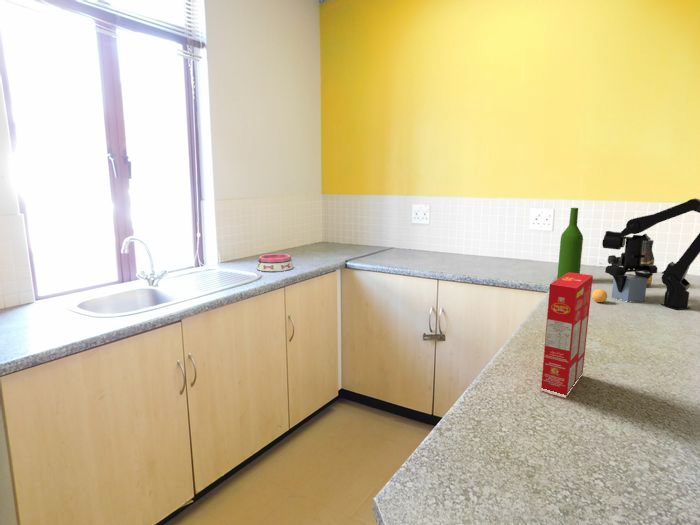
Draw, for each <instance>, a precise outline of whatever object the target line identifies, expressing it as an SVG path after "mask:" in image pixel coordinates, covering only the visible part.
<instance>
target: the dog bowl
mask: <svg viewBox="0 0 700 525" xmlns="http://www.w3.org/2000/svg"><path fill="white" fill-rule="evenodd" d="M256 270H257V272H260V271H261V272H262V273H283V272H284V271H285V272H288V271H289V272H290V271H292V270H294V265H293V260H292V257H291V256H290V254H287V253H270V254H269V253H267V254H263V255H260V256H259V258H258V263H257V268H256ZM285 272H284V273H285Z"/></svg>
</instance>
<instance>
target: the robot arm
mask: <svg viewBox="0 0 700 525" xmlns="http://www.w3.org/2000/svg"><path fill="white" fill-rule="evenodd" d="M692 211H693V212H696V213H698V214H700V199H699V198H695V197H694V198H691V199H689V200H687V201H685V202H682V203H679V204H677V205H674V206H671V207H669V208H666V209H664V210H660V211H658V212H655V213H652V214H649V215H644V216H639V217H638V216H637V217H635V218H634V217H633V218H631V219H629V220H628V221H627V223H626V224H625V227H624V228H623V229H622V230H621V231H613V230H611V231H610V230H606V231H605V234H604V236H603V239H602V244H601V245H602V248H603V249H610V250H617V251H618V250H619V251H620V250H621V249H622V248H624V252H621V253H620V256H616V255H615V254H614V255H608V257H607V263H608V264H609V265H606V267H605V271H604V272H605V273H606V274H609V275H610V276H612V277H613V280H614V279H615V281H616V285H617V288H618V291H619V292H622V290H623V287H624V284H625V281H626V278H627V276H625V274H627V273H630V272H631V273H632V272H634V275H635V274H636V275H637V276H640V277H644V278H647V280H648V279H649V277H650V276H652V277H653V274H658V267H657V265H656V264H654V265H651V264H647V263H643V264H641V260H642V258H645V255H643V254H642V252H643V244H644V241H648V240H652V239H651V237H650V236H649V235H648V234H647V233H644V232H645V231H646V230H649V229H650V228H652V227H654V226H655V225H658V224H659V223H662V222H665V221H667V220H670V219H673V218H676V217H678V216H682V215H684V214H687V213H689V212H692ZM640 233H644V234H643V235H642V234H641V235H640ZM631 234H632V236H629V235H631ZM699 254H700V232H699V233H698V234H697V236H696V237H695V238H694V240H693V241H692V242H691V243H690V245H689V246H688V247H687V249H686V250H685V251H684V252H683V254H682V255H681V256H680V257H679V259H678V260H677V261H676V262H673V261H671V262H669V263H668V264H667V266H666V268H665V270H663V271H662V272H661V274H662V276H661V283H663V285H664V286H665V287H666V291H665V294H664V299H663V300H664V301H663V303H661V304H660V305H661V306H663V307H667V308H670V309H672V310H676V311H678V310H687V309H689V310H690V309H691V306H689V305H688V304H689V299H690V298H689V297H690V291H688V290H689V288H690V286H691V283H690V282H689V281H688V280H687V279H686V275H687V273H688V271H689V269H690V266H691V265H692V264H693V262H694V261H695V260H696V258H698V256H699ZM651 273H653V274H651Z"/></svg>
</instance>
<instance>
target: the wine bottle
mask: <svg viewBox="0 0 700 525" xmlns="http://www.w3.org/2000/svg"><path fill="white" fill-rule="evenodd" d="M569 215H570V216H569V222H568V226H567V227H566V228H565V230H564V231H563V232H562V234H561V236H560V242H559V253H558V265H557V276H556V280H557V279H559V278H560V277H562V276H564V275H565V274H567V273H568V272H570V273H578V274H581V266H582V264H581V263H582V255H583V243H584V237H583V234H582V232H581V230H580V228H579V226H578V216H579V207H571V208H570V214H569Z"/></svg>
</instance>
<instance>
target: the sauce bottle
mask: <svg viewBox="0 0 700 525" xmlns="http://www.w3.org/2000/svg"><path fill="white" fill-rule="evenodd" d="M653 245H654V240H653V239H650V240H648V241H644V244H643V252H642V254H643V255H645V258H642V260H641V264H643V263H647V264H651V265H655V256H654V253H653ZM651 274H654V273H651ZM634 275H636V274H635V273H634ZM652 281H653V275H652V276H650V277H649V279H648V280H647V285H646V288H650V287H651V285H652Z"/></svg>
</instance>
